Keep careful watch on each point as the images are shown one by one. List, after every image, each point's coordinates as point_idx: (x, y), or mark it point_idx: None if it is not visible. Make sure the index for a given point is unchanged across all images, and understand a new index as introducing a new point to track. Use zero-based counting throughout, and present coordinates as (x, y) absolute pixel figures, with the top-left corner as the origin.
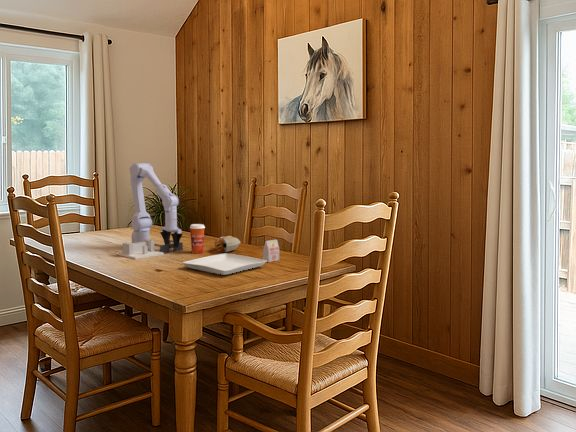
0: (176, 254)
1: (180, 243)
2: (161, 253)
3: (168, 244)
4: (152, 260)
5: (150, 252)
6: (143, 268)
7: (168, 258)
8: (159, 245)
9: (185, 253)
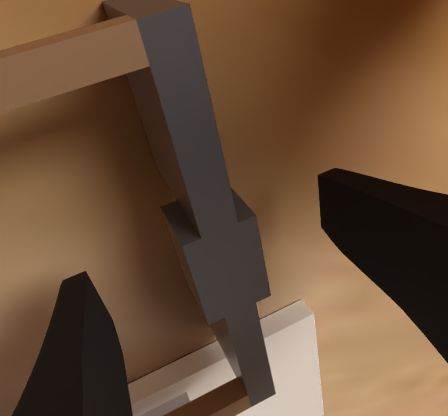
0: None
1: (198, 70)
2: (312, 328)
3: (258, 316)
4: (412, 365)
5: None
6: None
7: None
8: (239, 409)
9: (390, 65)
